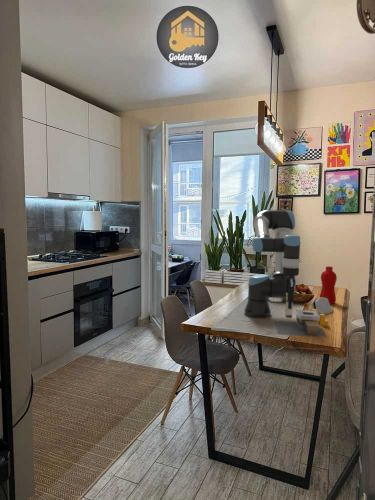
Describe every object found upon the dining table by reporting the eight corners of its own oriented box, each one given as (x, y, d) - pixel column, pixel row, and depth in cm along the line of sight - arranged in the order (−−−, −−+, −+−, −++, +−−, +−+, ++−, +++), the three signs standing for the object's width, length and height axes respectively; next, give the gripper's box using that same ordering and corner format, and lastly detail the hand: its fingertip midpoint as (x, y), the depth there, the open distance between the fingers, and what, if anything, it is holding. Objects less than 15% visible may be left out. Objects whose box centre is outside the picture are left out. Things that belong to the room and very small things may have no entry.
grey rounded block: (321, 315, 203) (316, 299, 205) (314, 316, 207) (309, 300, 208) (333, 311, 215) (329, 295, 216) (326, 312, 218) (322, 296, 220)
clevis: (301, 334, 167) (302, 320, 166) (295, 322, 187) (296, 309, 186) (323, 336, 165) (324, 322, 165) (315, 323, 185) (315, 311, 185)
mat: (278, 334, 168) (278, 334, 168) (274, 321, 190) (274, 320, 190) (326, 338, 164) (326, 337, 164) (316, 324, 187) (316, 323, 187)
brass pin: (285, 317, 169) (286, 293, 168) (284, 315, 173) (285, 292, 172) (293, 318, 169) (294, 294, 168) (292, 316, 173) (293, 292, 171)
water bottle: (329, 300, 243) (331, 265, 241) (337, 304, 232) (339, 267, 230) (316, 300, 243) (318, 265, 240) (323, 304, 232) (325, 267, 229)
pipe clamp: (328, 326, 183) (328, 315, 182) (320, 326, 182) (320, 315, 182) (318, 320, 194) (319, 309, 194) (310, 320, 194) (311, 309, 194)
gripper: (301, 269, 160) (299, 319, 162) (296, 264, 176) (294, 309, 178) (284, 269, 161) (282, 318, 164) (281, 264, 177) (279, 308, 179)
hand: (288, 313), depth 171 cm, fingers closed on brass pin, 3 cm apart
